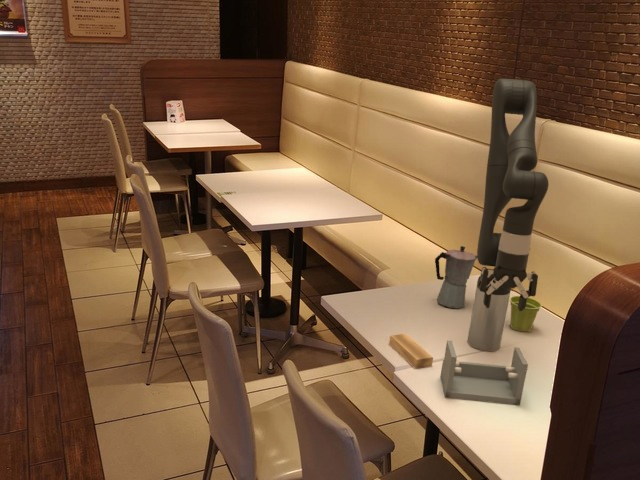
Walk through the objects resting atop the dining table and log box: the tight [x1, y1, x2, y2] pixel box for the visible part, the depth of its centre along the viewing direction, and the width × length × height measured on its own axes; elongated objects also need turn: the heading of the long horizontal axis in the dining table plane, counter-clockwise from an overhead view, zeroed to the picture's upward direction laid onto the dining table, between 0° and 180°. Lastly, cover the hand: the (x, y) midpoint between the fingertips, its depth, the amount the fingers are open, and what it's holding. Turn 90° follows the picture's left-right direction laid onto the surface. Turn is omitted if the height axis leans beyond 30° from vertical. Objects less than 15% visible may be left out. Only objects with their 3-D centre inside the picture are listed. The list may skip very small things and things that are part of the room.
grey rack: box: [439, 340, 529, 406], centre depth 156 cm, size 10×18×11 cm, turn 87°
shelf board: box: [388, 333, 434, 370], centre depth 172 cm, size 5×14×3 cm, turn 23°
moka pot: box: [434, 245, 478, 309], centre depth 205 cm, size 10×15×20 cm, turn 112°
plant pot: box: [509, 295, 543, 332], centre depth 194 cm, size 9×9×9 cm
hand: (503, 308), depth 165 cm, fingers open, 8 cm apart
